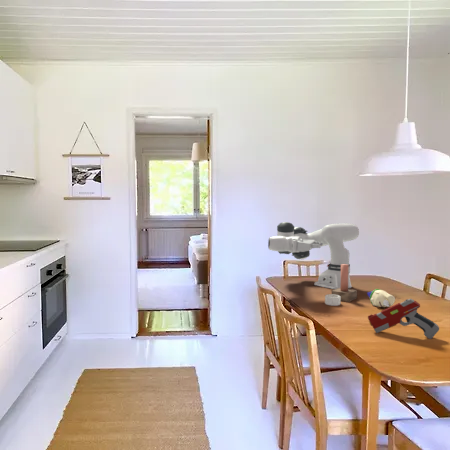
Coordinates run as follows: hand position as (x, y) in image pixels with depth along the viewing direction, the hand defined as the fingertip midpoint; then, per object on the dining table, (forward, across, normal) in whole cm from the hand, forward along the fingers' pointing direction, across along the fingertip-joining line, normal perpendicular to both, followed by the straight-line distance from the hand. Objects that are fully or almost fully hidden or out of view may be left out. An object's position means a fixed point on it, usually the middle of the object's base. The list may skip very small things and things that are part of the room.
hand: (321, 245), depth 226 cm
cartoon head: (+30, +7, -30) cm, 43 cm away
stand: (+12, 0, -29) cm, 32 cm away
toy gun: (+38, +51, -30) cm, 70 cm away
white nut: (+7, +13, -29) cm, 33 cm away
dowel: (+12, 0, -24) cm, 27 cm away
